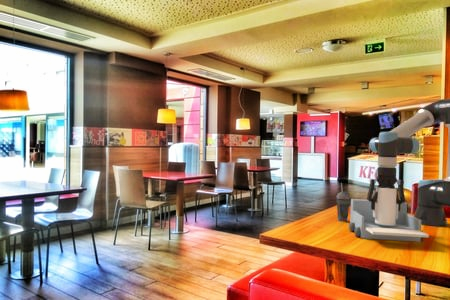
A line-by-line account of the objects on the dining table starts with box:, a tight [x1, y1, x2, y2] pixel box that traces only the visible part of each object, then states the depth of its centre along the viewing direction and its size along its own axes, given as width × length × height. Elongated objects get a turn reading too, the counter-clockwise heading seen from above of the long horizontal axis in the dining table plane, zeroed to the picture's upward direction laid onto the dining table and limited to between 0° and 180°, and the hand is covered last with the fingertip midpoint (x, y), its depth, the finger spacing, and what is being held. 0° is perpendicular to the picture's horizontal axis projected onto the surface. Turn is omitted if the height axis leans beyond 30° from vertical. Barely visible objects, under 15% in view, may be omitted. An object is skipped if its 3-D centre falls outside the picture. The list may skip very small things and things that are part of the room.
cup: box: [375, 185, 398, 226], centre depth 146 cm, size 8×8×16 cm
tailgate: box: [366, 227, 430, 238], centre depth 134 cm, size 21×1×9 cm
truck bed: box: [348, 198, 425, 243], centre depth 148 cm, size 27×18×14 cm, turn 83°
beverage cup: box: [335, 182, 352, 223], centre depth 173 cm, size 7×7×20 cm
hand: (385, 217), depth 146 cm, fingers closed on cup, 8 cm apart
